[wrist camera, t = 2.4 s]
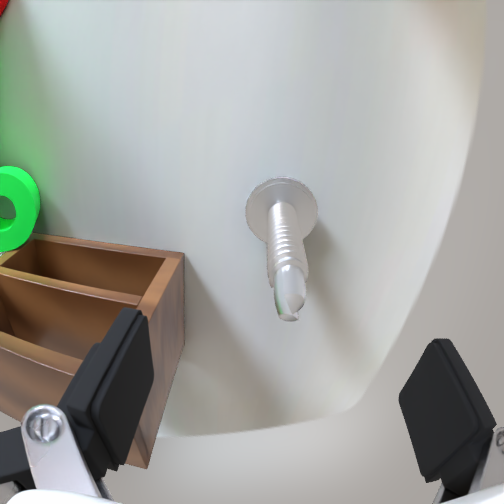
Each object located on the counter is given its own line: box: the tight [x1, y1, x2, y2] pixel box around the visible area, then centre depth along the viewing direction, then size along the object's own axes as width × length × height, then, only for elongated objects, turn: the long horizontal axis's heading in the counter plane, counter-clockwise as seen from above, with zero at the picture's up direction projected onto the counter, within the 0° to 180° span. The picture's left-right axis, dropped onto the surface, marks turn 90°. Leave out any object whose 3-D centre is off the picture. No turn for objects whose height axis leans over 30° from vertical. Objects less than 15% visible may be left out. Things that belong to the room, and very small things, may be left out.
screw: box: [246, 177, 318, 321], centre depth 17 cm, size 13×5×5 cm
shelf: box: [0, 233, 185, 469], centre depth 21 cm, size 10×16×14 cm, turn 84°
